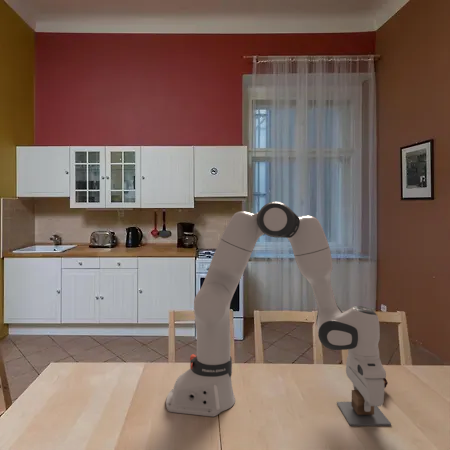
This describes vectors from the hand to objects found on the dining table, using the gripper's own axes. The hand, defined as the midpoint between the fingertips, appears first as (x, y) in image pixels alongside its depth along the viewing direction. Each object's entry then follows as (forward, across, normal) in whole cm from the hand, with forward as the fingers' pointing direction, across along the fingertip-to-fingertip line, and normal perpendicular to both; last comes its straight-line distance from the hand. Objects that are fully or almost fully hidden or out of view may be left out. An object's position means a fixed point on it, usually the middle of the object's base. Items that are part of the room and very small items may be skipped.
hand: (362, 404), depth 109 cm
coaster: (+3, 0, 0) cm, 3 cm away
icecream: (+3, -15, +11) cm, 18 cm away
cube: (+2, 0, 0) cm, 2 cm away
